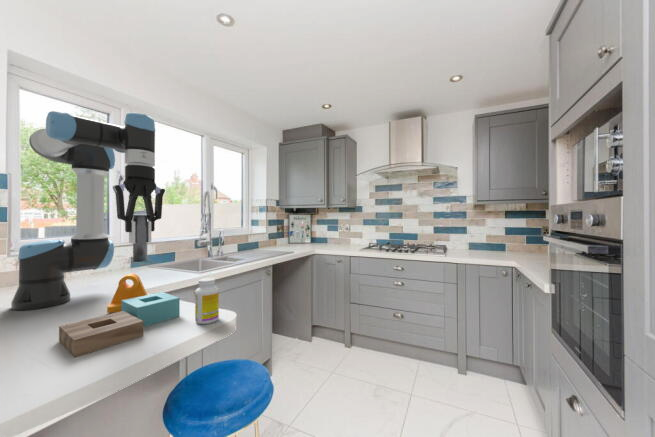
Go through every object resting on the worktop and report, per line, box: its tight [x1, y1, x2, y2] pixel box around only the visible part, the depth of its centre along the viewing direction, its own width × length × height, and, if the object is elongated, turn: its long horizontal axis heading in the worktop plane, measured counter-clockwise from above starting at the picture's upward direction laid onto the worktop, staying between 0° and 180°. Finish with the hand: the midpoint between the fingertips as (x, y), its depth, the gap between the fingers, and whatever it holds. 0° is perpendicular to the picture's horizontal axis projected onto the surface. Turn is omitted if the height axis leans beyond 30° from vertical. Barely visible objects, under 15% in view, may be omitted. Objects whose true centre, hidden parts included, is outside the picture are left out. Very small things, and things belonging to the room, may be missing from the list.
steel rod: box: [132, 214, 148, 263], centre depth 83 cm, size 4×4×14 cm
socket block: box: [58, 311, 144, 358], centre depth 72 cm, size 14×14×4 cm
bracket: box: [106, 273, 148, 314], centre depth 94 cm, size 11×7×12 cm, turn 116°
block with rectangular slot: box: [121, 291, 181, 328], centre depth 87 cm, size 12×12×6 cm
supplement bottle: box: [194, 277, 220, 325], centre depth 84 cm, size 7×7×13 cm
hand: (140, 242), depth 83 cm, fingers closed on steel rod, 4 cm apart
